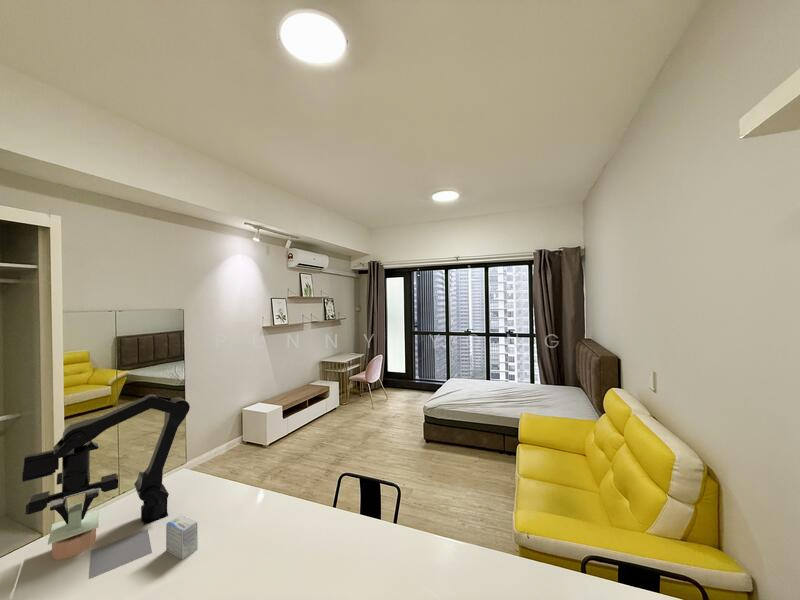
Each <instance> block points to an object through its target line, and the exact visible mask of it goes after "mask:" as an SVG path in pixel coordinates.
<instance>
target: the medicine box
mask: <svg viewBox="0 0 800 600" xmlns="http://www.w3.org/2000/svg"><path fill="white" fill-rule="evenodd" d="M165 527H166V528H165V529H166V530H165V531H166V532H165V534H166V535H165V538H166V542H165V544H166V545H165V550H166V552H167V553H169V554H171V555H174V556H175V557H177V558H179V559H180V560H185V559H186V558H188V557H189V556H191V555H192V554H194V553H195V552H196V551H197V550H198V545H199V544H198V543H199V542H198V539H199V538H198V536H199V535H198V530H199V529H198V528H199V527H198V521H196V520H194V519H192V518H190V517H187V516H186V515H183V514H180V515H178V516H176V517H174V518H173V519H171V520H169V521H168V522H167V523H166V525H165Z"/></svg>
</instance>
